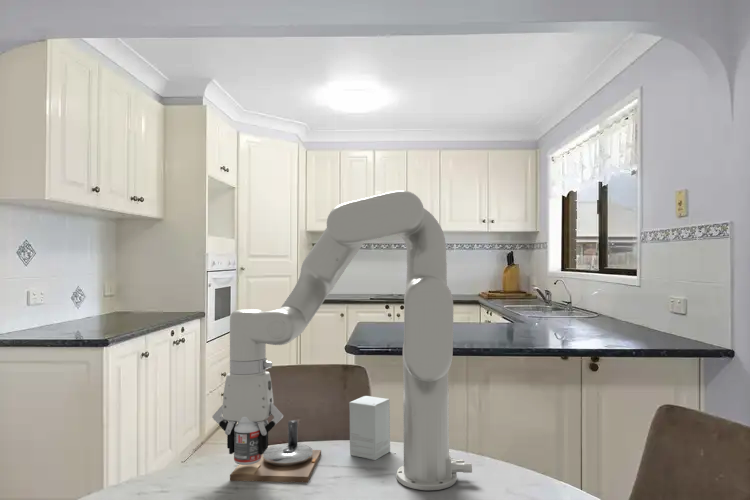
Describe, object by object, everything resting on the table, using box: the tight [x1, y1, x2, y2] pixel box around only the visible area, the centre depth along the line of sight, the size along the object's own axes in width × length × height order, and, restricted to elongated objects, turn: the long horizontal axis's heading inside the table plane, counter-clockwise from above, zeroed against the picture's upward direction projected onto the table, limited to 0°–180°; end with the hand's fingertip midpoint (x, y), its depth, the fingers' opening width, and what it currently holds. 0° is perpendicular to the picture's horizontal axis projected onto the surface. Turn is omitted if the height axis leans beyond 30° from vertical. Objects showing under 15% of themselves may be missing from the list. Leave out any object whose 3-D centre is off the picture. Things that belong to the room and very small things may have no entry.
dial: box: [263, 419, 314, 466], centre depth 114 cm, size 11×11×6 cm
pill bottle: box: [233, 417, 261, 465], centre depth 108 cm, size 6×6×10 cm
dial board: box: [229, 449, 322, 484], centre depth 112 cm, size 16×16×2 cm
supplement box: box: [348, 395, 391, 461], centre depth 121 cm, size 7×7×13 cm
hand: (247, 451), depth 108 cm, fingers closed on pill bottle, 5 cm apart
